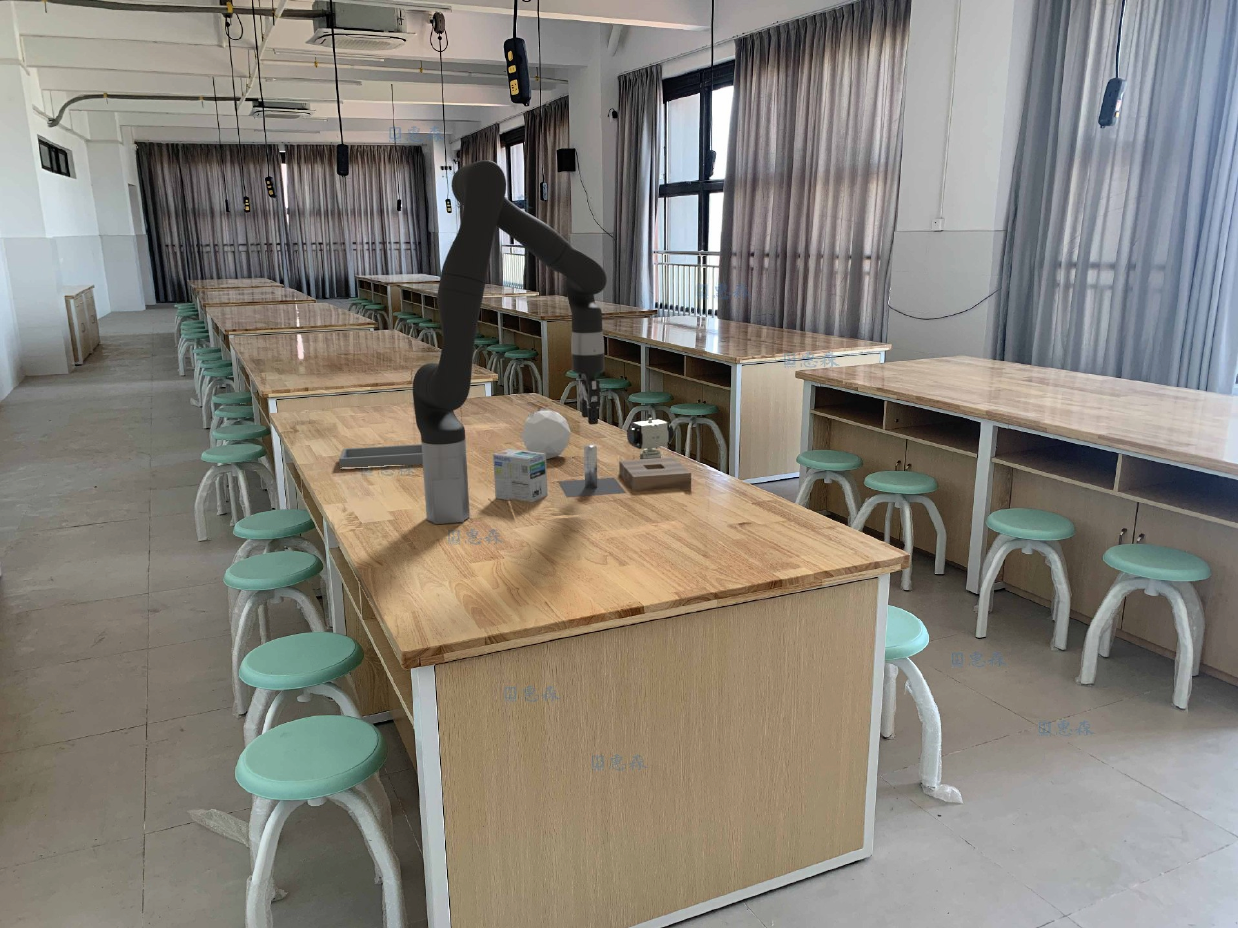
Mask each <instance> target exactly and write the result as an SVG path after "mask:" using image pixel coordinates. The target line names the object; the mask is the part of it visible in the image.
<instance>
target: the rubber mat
mask: <svg viewBox="0 0 1238 928" xmlns="http://www.w3.org/2000/svg"><path fill="white" fill-rule="evenodd" d="M557 482H558V484H559V487H560V488H561V489H562V491H563V493H564V494H565V495H564V496H565V497H566V498H575V497H590V496H602V495H616V494H617V495H619V494H626V493H627V491H626V490H625V489H624V488H623V486H621V485H620V483H619V482H618V480H617V479H616V478H615V477H602V478H597V483H598V487H597V488H593V489H588V488H585V479H573V480H559V481H557Z"/></svg>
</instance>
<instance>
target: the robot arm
mask: <svg viewBox="0 0 1238 928" xmlns="http://www.w3.org/2000/svg"><path fill="white" fill-rule="evenodd" d="M451 191H452V194H453V196H454V197H455V199H456V201H457V202H458V204H459V205H461V206H462V207H463V208H462V217H461V222H460V225H459V229H458V231H457V233H456V236H455V237H454V240H453V242H452V244H451V245H450V248H449V249H448V252H447V255H446V257H445V259H444V263H443V265H442V267H441V272H440V278H439V283H438V289H437V293H436V294H437V295H436V300H437V301H436V303H437V311H438V315H439V320H440V321H439V322H440V325H441V330H442V345H441V351H440V356H439V361H438V363H437V362H430V363H426V364H423V365H421V366H420V367H419V368H418V369H417V371H416V372H415V374H414V377H413V381H412V401H413V408H414V409H413V410H414V415H415V416H414V417H415V424H416V427H417V429H418V431H419V433H420V441H421V443H420V444H422V459H423V465H422V473H423V484H424V485H423V486H424V501H425V510H426V511H425V512H426V515H425V516H426V520H427V521H428V522H430V523H433V524H434V525H440V524H441V525H442V524H443V525H444V524H454V523H455V524H456V523H464V521H465V520H467V519H469V518H470V517H471V512H470V495H469V479H468V478H469V477H468V460H467V443H466V441H467V440H466V439H467V438H466V428H465V425H464V424H463V423H461V421H460V420H459V419H458V417H457V416H456V414H455V411H456V410H458V409H460V408H461V407H462V406H464V404H465V402H466V401H467V400H468V397H469V394H470V389H471V385H472V383H471V382H472V373H473V372H472V371H473V362H474V361H473V358H474V349H475V348H474V347H475V341H476V335H477V331H478V324H479V318H480V314H481V313H480V312H481V307H482V304H483V299H484V294H485V289H486V284H487V283H486V282H487V276H488V270H489V266H490V265H489V264H490V258H491V253H492V247H493V241H494V236H495V232H496V231H495V230H496V228H498V229H500V230H501V231H502V232H504V233H505V234H507V235H508V236H509V237H511V238H512V239H514V240H515V241H516V242H518V243H519V244H520V245H522V247H524V248H525V249H526V250H528V251H529V252H530V253H531V254H532V255H533V256H535V258H537V260H538V261H539V262H541V263H543V264H544V265H545V266H546V267H547V268H549V270H551V271H553V272H556V273H560V274H561V275H563V276H564V277H565V279H564V280H565V281H564V282H565V283H564V285H565V290H566V296H567V301H568V305H569V308H570V311H571V340H570V344H571V345H570V347H571V371H572V373H574V374H577V376H578V398H579V400H580V402H581V417H582V418H587V423H588V424H589V425H597V424H599V407H601V393H600V392H601V391H600V390H601V389H600V384H601V382H600V380H599V379H597V377H596V374H600V373H603V372H604V371H605V369H606V367H605V340H604V332H603V331H604V330H603V329H604V328H603V312H602V308H601V306H599V305H598V304H596V299H595V295H599V294H600V293H601V292H603V290H604V289H605V288H606V285H607V281H608V278H607V274H606V271H605V270H604V268H603V267H602V266H601V264H599V263H598V262H597V261H596V260H594V259H593V258H592V257H590V256H588V255H587V254H586V253H584V252H583V251H580V250H579V249H577V248H575V246H573V245H572V244H570V243H569V241H567V240H566V239H565V238H564V236H562V235H561V234H559V232H557V231H556V230H555V229H553V228H552V227H551V226H550V225H548V224H547V223H546V222H544V221H542V220H540V219H539V218H537V217H535V216H534V215H532V214H530V213H528V212H527V211H524V210H523V209H521V208H520V207H518V206H517V205H516V204H514V203H513V202H511V201H510V200H509V199H508V198H507V197H506V192H507V180H506V176H505V172H504V171H503V169H502V167H500V165H499V164H498V163H496V162H494V161H492V160H486V159H484V160H478V161H474V162H472V163H469V164H466V165H464V166H461V167H460V168H458V169H457V171H455V172H454V174H453V175H452V179H451Z"/></svg>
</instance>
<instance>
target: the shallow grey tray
mask: <svg viewBox="0 0 1238 928" xmlns="http://www.w3.org/2000/svg"><path fill="white" fill-rule="evenodd" d="M338 460H339V469H340V468H342V467H368V466H384V465H413V466H421V465H420V464H423V459H422V444H421V443H419V444H416V443H415V444H403V445H401V444H400V445H388V446H387V445H386V446H368V447H367V446H366V447H351V448H350V447H348V448H342V450H341V453H340V456H339V457H338Z"/></svg>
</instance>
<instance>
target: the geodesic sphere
mask: <svg viewBox="0 0 1238 928" xmlns="http://www.w3.org/2000/svg"><path fill="white" fill-rule="evenodd" d="M571 434H572V433H571V429H570V425H569V424H568V420H567V419H566V418H565V417H564V416H562V415H561V414H560V413H559V412H557V411H553V410H552V409H548V408H543V407H540V410H539V411H534V412H533V411H531V412H530V414H529V415H528V418H527V419H526V420H525V421H524V425H523V427H522V430H521V433H520V438H521V439H522V442H523V445H524V447H525V450H526V451H530V452H539V453H546V460H549V459H552V458H556V457H558V456H561V455H562V453H563V452H564V451H565V449H566V448H567V446H568V445H569V441H570V438H571Z"/></svg>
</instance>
